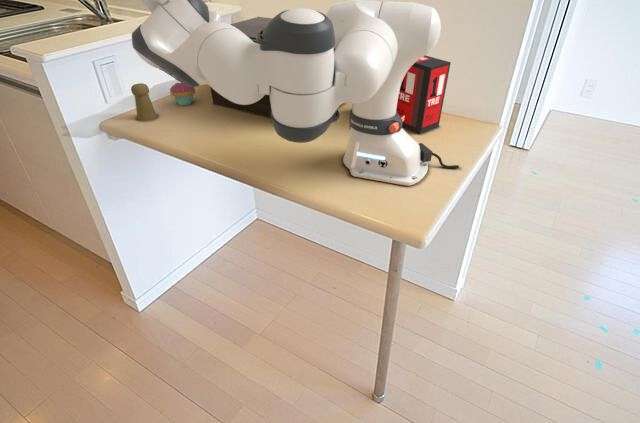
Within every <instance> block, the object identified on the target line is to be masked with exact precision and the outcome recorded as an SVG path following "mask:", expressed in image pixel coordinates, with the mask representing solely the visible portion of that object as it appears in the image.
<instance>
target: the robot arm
mask: <svg viewBox="0 0 640 423" xmlns="http://www.w3.org/2000/svg"><path fill="white" fill-rule="evenodd" d="M138 1H139V2H140V3H141V4H142V5H143V6H144V7H145V8H146V10H148V11H149V12H150V14H149V15H148V16H147V17H146V19H145V20H144V21H143V22H142V23H141V24H140V25H138V27H137V28H135V29H134V31H132V32H131V45H132V48H133V49H134V51H135V53H136V55H137V56H138V57H139V58H140V59H142V60H143V61H144V62H145V63H146V64H148V65H149V66H151V67H153V68H155V69H159V71H162V72H164V74H167V75H168V76H170V77H171V78H173V79H175V80H176V81H178V82H179V83H183V84H185V85H187V86H190V87H194V88H197V87H200V86H203V85H204V86H205V85H208V86H209V87H211V88H213V89H214V90H215V91H216V92H217V93H219V94H220V95H221V96H223V97H224V98H226V99H228V100H230V101H231V102H234V103H236V104H240V105H248V104H252V103H255V102H257V101H259V100H260V99H261V98H263V96H264V95H265V94H266V95H269V96H270V103H271V109H272V111H271V117H270V119H271V123H272V126H273V129H274V131H275V133H276V134H277V136H278V137H280V138H281V139H284V140H285V141H288V142H291V143H296V144H305V143H310V142H313V141H315V140H316V139H318V138H320V137H321V136H323V135H324V134H325V133H326V132H327V131H328V129H329V128H330V126H331V124H334V123H336V122H338V120H339V119H340V117H341V116H340V111H339V109H338V108H339V107H341V106H342V105H344V104H351V109H350V111H349V120H348V121H349V122H348V125H349V126H348V129H349V136H348V141H347V146H346V150H345V153H344V156H343V158H342V161H343V165H345V167H346V168H347V169H349V172H350V175H351V176H352V177H356V178H360V179H366V180H372V181H378V182H384V183H388V184H393V185H394V184H395V185H400V186H407V187H410V186H414V185H416V184H417V183H419V182H420V181H422V180H423V179H424V177H425V176H426V175H427V172H428V170H429V163H428V162H431V161H432V158H433V157H432V156H434V157H435V158H436V159H437V160H438V162H439V165H440V166H441V167H442V168H446V169H459V167H460V165H458V164H456V165H447V164H444V162H443V161H442V160H443V159H442V158H441V157H440V155H438V154H437V153H435V152H433V150H431V149H430V148H429V147H428V146H427V145H425V144H424V143H422V142H420V143H419V142H417V140H415V139H414V138H413V137H412V136H410V134H409V133H408V132H407V131H406V130H405V128H404V127H402V122H403V121H404V117H405V116H403V117H402V118H401V117H400V116H399V115H398V113H397V111H396V109H397V102H398V96H399V91H400V87H401V83H402V81H403V78H404V76H405V75H406V73H407V71H408V70H409V69H410V67H411V66H412V65H413V64H414V63H415V62H416V61H418V60H419V59H420V58H422V57H423V56H425V55H426V56H428V54H429V53H430V52H432V50H433V49H434V48H435V47H436V45H437V44H438V42H439V39H440V37H441V32H442V21H441V18H440V15H439V13H438V11H437V10H436V9H435V8H434V7H433V6H430V5H425V4H423V3H419V2H415V1H395V0H344V1H338V2H335V3H334V2H333V4H332V5H331V6H330V7H329V9H328V10H327V12H326V14H325V13H323V12H320V11H318V10H315V9H312V8H308V7H307V8H306V7H295V8H292V9H286V10H283V11H280V12H279V13H278V14H276V15H275V16H273V17H272V18H273V19H272V20H271V21H270V22H269V23H268V24H267V26H266V28H264V29H262V30H261V31H259V33H258V35H257V37H256V41H257V43H255V42H253V41H252V40H251V39H250V38H249V37H247V36H246V35H245V34H244V33H243V32H241V31H240V30H239V29H237V28H235V27H234V26H232V25H230V24H231V23H230V24H229V23H227V22H225V21H224V22H223V21H222V16H221V15H220V14H219V13H218V12H215V11H212V10H210V9H209V6H208V5H207V4H206V2H205V1H203V0H138ZM334 48H335V49H336V50H335V52H334ZM211 88H210V89H211ZM343 103H344V104H343ZM341 104H342V105H341ZM340 105H341V106H340Z"/></svg>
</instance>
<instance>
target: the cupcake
mask: <svg viewBox="0 0 640 423" xmlns="http://www.w3.org/2000/svg"><path fill="white" fill-rule="evenodd" d="M169 93H170V96H171V97H173V98H174V99H175V100H176V102H177V104H178V105H179V106H188V105H191V104H192V102H193V96H194V95H195V94H196V88H195V87H190V86H187V85H185V84H183V83H181V82H176V83H174V84H173V85H172V86H171V87H170V89H169Z"/></svg>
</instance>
